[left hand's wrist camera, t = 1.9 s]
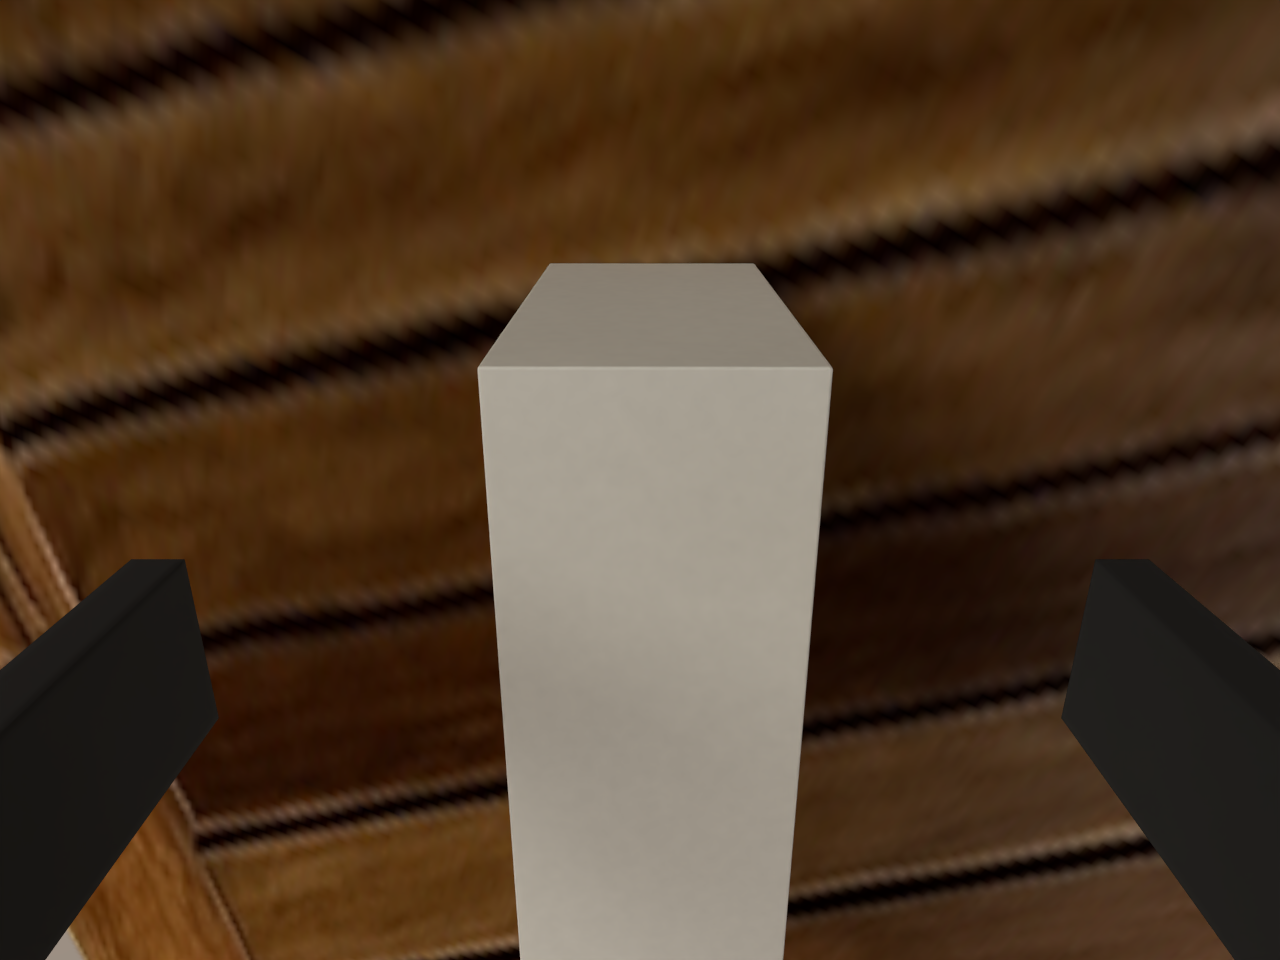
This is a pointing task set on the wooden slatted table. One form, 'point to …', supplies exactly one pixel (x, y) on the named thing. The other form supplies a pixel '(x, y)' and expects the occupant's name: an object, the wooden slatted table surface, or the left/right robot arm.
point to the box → (653, 604)
